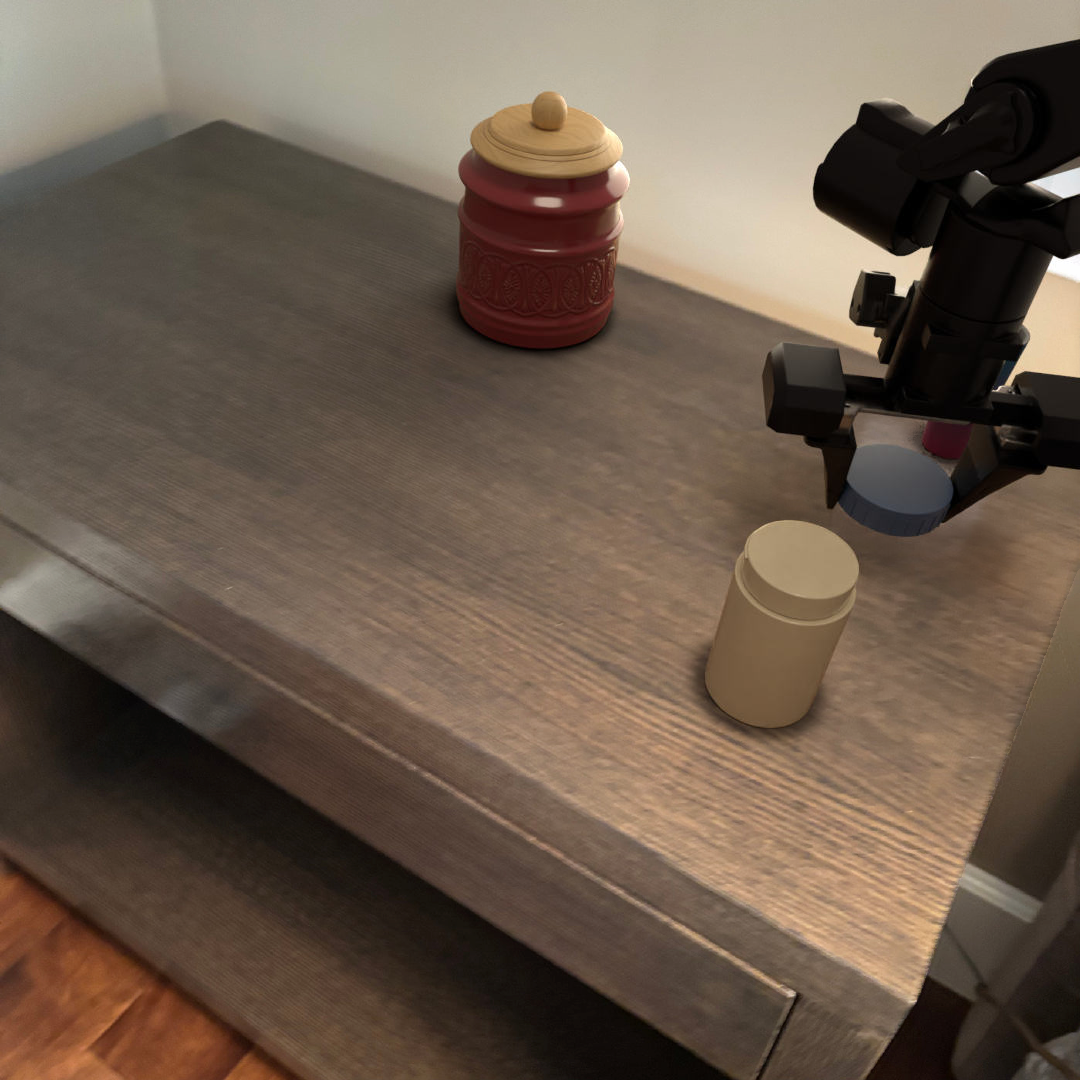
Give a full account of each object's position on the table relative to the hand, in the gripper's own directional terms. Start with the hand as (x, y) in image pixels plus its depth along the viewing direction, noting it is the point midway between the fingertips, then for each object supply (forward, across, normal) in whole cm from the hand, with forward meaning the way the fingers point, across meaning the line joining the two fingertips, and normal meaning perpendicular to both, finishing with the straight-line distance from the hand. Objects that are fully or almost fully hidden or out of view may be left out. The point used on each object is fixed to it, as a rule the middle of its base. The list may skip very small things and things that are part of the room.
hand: (884, 511), depth 65 cm
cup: (+3, -7, -12) cm, 14 cm away
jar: (+3, +8, +13) cm, 16 cm away
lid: (-2, 0, 0) cm, 2 cm away
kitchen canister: (+3, +25, -24) cm, 35 cm away
